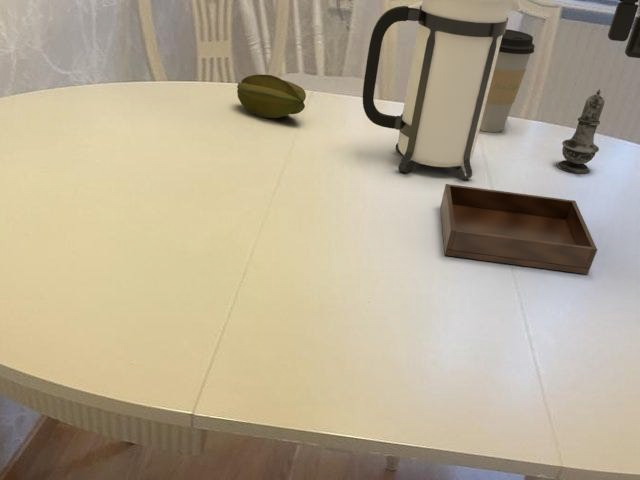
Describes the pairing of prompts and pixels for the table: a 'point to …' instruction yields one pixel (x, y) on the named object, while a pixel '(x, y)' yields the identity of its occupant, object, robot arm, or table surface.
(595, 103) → the salt shaker
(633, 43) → the robot arm
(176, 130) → the table surface
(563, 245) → the tray
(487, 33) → the coffee press
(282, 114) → the fruit
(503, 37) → the coffee cup
